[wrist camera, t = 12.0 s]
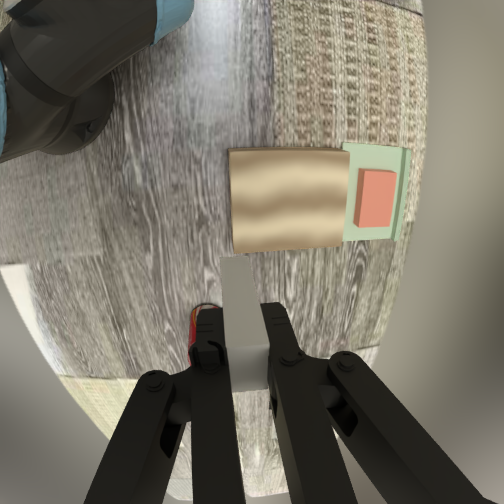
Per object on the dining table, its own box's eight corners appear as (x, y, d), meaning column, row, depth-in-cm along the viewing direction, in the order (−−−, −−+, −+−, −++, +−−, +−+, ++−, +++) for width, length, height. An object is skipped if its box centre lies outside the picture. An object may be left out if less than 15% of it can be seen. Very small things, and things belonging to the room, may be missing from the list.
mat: (341, 142, 39) (346, 143, 37) (405, 148, 40) (411, 149, 38) (334, 240, 46) (337, 244, 44) (393, 237, 47) (398, 240, 46)
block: (397, 172, 39) (390, 170, 41) (364, 170, 39) (358, 168, 40) (389, 226, 43) (383, 222, 45) (358, 227, 43) (353, 223, 44)
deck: (228, 148, 37) (229, 151, 34) (338, 148, 39) (350, 152, 35) (232, 241, 44) (234, 253, 40) (332, 235, 45) (341, 246, 42)
